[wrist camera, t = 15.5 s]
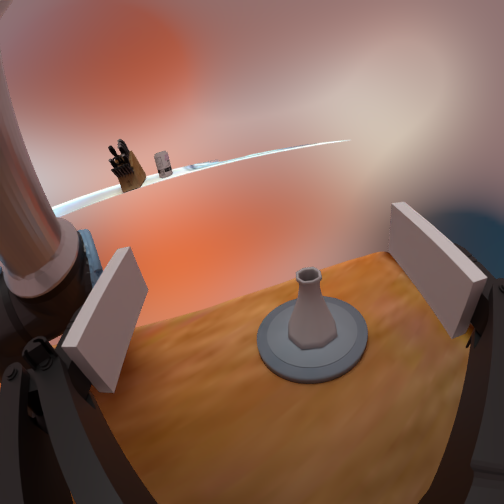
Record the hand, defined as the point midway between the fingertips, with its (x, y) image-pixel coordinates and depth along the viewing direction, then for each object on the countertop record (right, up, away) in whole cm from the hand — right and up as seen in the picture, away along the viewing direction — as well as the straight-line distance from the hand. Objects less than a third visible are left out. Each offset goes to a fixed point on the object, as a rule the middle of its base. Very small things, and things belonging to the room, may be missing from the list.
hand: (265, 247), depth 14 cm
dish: (+8, -13, +26) cm, 30 cm away
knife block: (-70, +38, +143) cm, 164 cm away
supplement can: (-52, +45, +149) cm, 164 cm away
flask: (+8, -12, +26) cm, 29 cm away
